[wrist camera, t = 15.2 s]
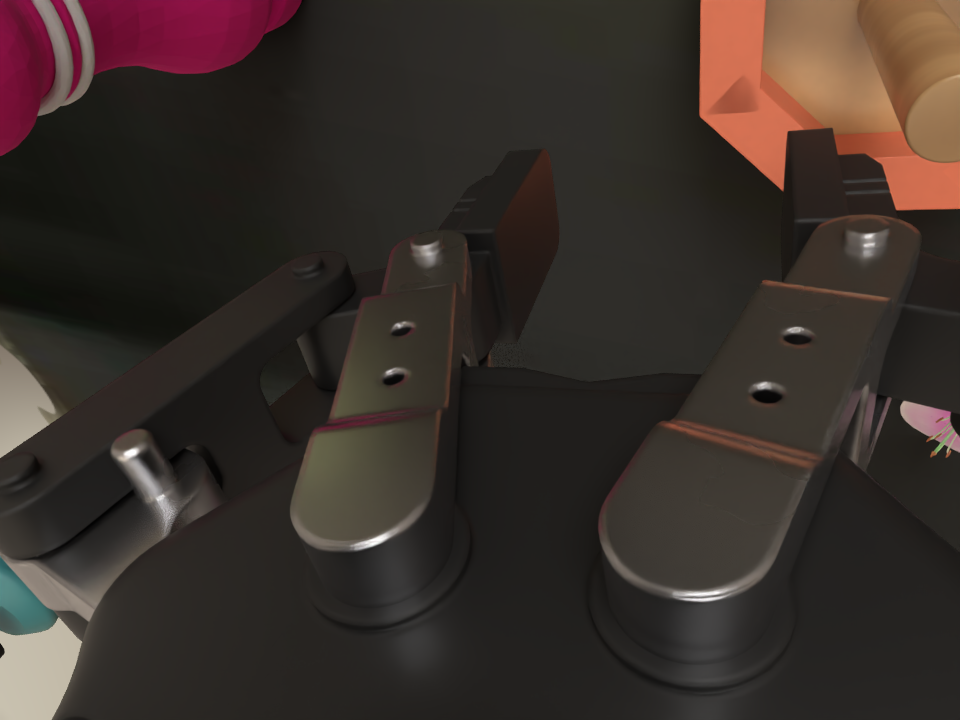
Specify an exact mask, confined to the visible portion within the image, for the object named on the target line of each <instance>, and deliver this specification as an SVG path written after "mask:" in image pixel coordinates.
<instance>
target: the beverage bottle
mask: <svg viewBox="0 0 960 720" xmlns="http://www.w3.org/2000/svg"><path fill="white" fill-rule="evenodd" d="M58 617H59V616H58V615H57V614H56V613H55V612H54V611H53V610H52V609H49V608H47V607H46V606H45V605H43V604H42V602H41V601H40V600H39V599H38V598H37V597H36V596H35V595H34V594H33V592H32V591H31V590H30V589H29V588H28V587H27V586H26V585H25V584H24V582H23V581H22V580H21V579H20V578H19V577H18V576H17V575H16V574H15V572H14V571H13V570H12V569H11V568H10V567H9V566H8V565H7V564H6V562H5V561H4V560H3V559H2V558H1V556H0V631H3V632H5V633H8V634H12V635H25V634H31V633H37V632H42V631H45V630H48V629H49V628H51V627H52V626H53V625H54V624H55V622H56V621H57V619H58ZM3 654H4V648H3V647H2V645H1V644H0V658H1V657H2V655H3Z"/></svg>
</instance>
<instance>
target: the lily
mask: <svg viewBox="0 0 960 720" xmlns="http://www.w3.org/2000/svg"><path fill="white" fill-rule="evenodd" d="M900 410H901V415H902V417H903V418H904V419H905V421H906V422H907V423H909V424H910V425H911V426H912V427H914V428H915V429H917V430H919V431H920V432H922V433H924V434H926V435H928V436H930V437H929V438H928V439H927V442H928V441H929V440H930V439H935V440H937V441H939V442H941V443H940V444H939V446H938V447H937V448H936V449H935V451H932V454H931V456H930V457H931V458H932V456H933V455H936V454H937V452H938V451H939V450H940V449H941V448H942V447H943V445H946V446H948V449H947V455H946V458H947V457H948V456H949V455H950V453H951V450H950V451H949V449H950V448H952V449H954V450H956V451H958V452H960V437H959V436H958V435H957V433H956V432H955V430H954V429H953V427H952V425H951V422H950V414H951V412H949V411H945V410H940V409H936V408H932V407H928V406H924V405H919V404H915V403H911V402H907V401H903V403H902V405H901V406H900Z"/></svg>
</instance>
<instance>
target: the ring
mask: <svg viewBox="0 0 960 720" xmlns="http://www.w3.org/2000/svg"><path fill="white" fill-rule="evenodd" d="M765 9H766V0H700V106H699V115H700V117H701V118H702V119H703V120H704V121H705V122H706V123H707V124H709V125H710V126H711V127H712V128H713V129H714V130H715V131H716V132H717V133H719V134H720V135H721V136H722V137H723V138H724V139H725V140H726V141H728V142H729V143H730V144H731V145H732V146H733V147H734V148H735V149H736V150H738V151H739V152H740V153H741V154H742V155H743V156H744V157H745V158H746V159H748V160H749V161H750V162H751V163H752V164H753V165H754V166H755V167H757V168H758V169H759V170H760V171H761V172H762V173H763V174H764V175H765V176H767V177H768V178H769V179H770V180H771V181H772V182H773V183H774V184H775V185H777V186H778V187H779V188H780V189H781V190H782V191H783V189H784V173H785V157H786V141H787V132H788V131H794V130H807V129H821V128H825V127H824V126H823V125H822V124H821V123H819V122H818V121H817V120H816V119H815V118H814V117H813V116H812V115H811V114H810V113H809V112H808V111H807V110H805V109H804V108H803V107H802V106H801V105H800V104H799V103H798V102H797V101H796V100H795V99H794V98H793V97H792V96H790V95H789V94H788V93H787V92H786V91H785V90H784V89H783V88H782V87H781V86H780V85H779V84H778V83H776V82H775V81H774V80H773V79H772V78H771V77H770V76H769V75H768V74H767V73H766V72H765V71H764V70H762V61H763V44H764V26H765ZM834 137H835V142H836V147H837V152H838V155H844V154H860V153H865V154H867V155H868V156H870V157H871V158H873V159H874V160H876V161H877V162H879V163H881V164H882V165H883V169H884V172H885V175H886V181H887V182H888V185H889V189H890V193H891V195H892V198H893V202H894V205H895V208H896V210H929V209H960V161H958V162H952V163H938V162H932V161H928V160H926V159H923V158H922V157H920V156H918V155H917V154H916V153H914V152H913V151H912V150H911V148H910V147H909V145H908V144H907V141H906V139H905V136H904V134H903V132H902V131H898V132H880V133H861V134H843V135H834Z"/></svg>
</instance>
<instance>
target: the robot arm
mask: <svg viewBox="0 0 960 720" xmlns="http://www.w3.org/2000/svg"><path fill="white" fill-rule="evenodd" d="M921 240H922V237H921V234H920V232H919V231H918V229H916V228H915V227H914V226H912V225H911V224H909V223H907V222H905V221H902V220H899V218H898V215H897V212H896V208H895V205H894V202H893V198H892V195H891V193H890V189H889V185H888V182H887V181H886V175H885V172H884V169H883V165H882V164H881V163H879V162H877V161H876V160H874V159H873V158H871V157H870V156H868V155H867V154H865V153H860V154H844V155H838V152H837V147H836V142H835V137H834V132H833V128H821V129H807V130H794V131H788V132H787V141H786V157H785V173H784V189H783V206H782V224H781V260H782V282H777V281H770V280H764V281H763V282H761V284H760V285H759V286H758V288H757V289H756V291H755V293H754V294H753V296H752V297H751V299H750V300H749V302H748V304H747V305H746V307H745V308H744V310H743V311H742V313H741V314H740V316H739V318H738V319H737V321H736V322H735V324H734V325H733V327H732V329H731V330H730V332H729V333H728V335H727V336H726V338H725V340H724V341H723V343H722V344H721V346H720V347H719V349H718V350H717V352H716V354H715V355H714V357H713V358H712V360H711V361H710V363H709V365H708V366H707V368H706V369H705V371H704V372H703V374H702V375H700V374H673V373H660V374H652V375H644V376H636V377H628V378H619V379H611V380H603V381H594V382H585V381H580V380H575V379H571V378H566V377H562V376H557V375H553V374H548V373H544V372H539V371H535V370H530V369H526V368H508V367H495V366H494V361H493V357H492V352H491V349H492V346H493V344H494V343H504V344H517V342H518V339H519V337H520V335H521V333H522V330H523V328H524V326H525V323H526V321H527V319H528V317H529V314H530V312H531V310H532V307H533V305H534V303H535V301H536V298H537V296H538V294H539V291H540V289H541V287H542V285H543V282H544V280H545V278H546V275H547V273H548V271H549V269H550V266H551V264H552V262H553V259H554V257H555V255H556V252H557V249H558V244H559V221H558V213H557V206H556V199H555V191H554V184H553V177H552V169H551V163H550V158H549V154H548V152H547V150H546V149H533V150H520V151H510V152H508V153H507V155H506V156H505V158H504V159H503V161H502V162H501V163H500V165H499V166H498V168H497V169H496V171H495V172H494V174H493V175H492V176H485V177H484V178H482V179H481V180H479V181H478V182H476V183H475V184H473V185H472V186H470V187H469V188H468V189H467V190H466V192H465V193H464V194H463V196H462V197H461V199H460V202H458V203H457V204H456V205H455V207H454V208H453V212H450V214H449V215H448V217H447V218H446V219H445V221H444V222H443V223H442V225H441V226H440V228H439V229H438V230H431V231H426V232H422V233H419V234H416V235H413V236H411V237H409V238H407V239H405V240H403V241H401V242H400V243H399V244H397V245H396V246H395V247H394V248H393V249H392V251H391V253H390V256H389V261H388V265H387V268H384V269H379V270H374V271H369V272H364V273H359V274H353V275H352V274H351V271H350V268H349V265H348V262H347V259H346V257H345V256H344V255H343V254H341V253H338V252H333V251H323V252H315V253H311V254H307V255H304V256H301V257H298V258H296V259H293V260H292V261H290V262H288V263H286V264H284V265H283V266H281V267H280V268H278V269H277V270H276V271H274V272H273V273H271V274H270V275H268V276H267V277H265V278H264V279H262V280H261V281H259V282H258V283H256V284H255V285H254V286H252V287H251V288H249V289H248V290H246V291H245V292H243V293H242V294H240V295H239V296H237V297H236V298H234V299H233V300H232V301H230V302H229V303H227V304H226V305H224V306H223V307H221V308H220V309H218V310H217V311H215V312H214V313H212V314H211V315H210V316H208V317H207V318H205V319H204V320H202V321H201V322H199V323H198V324H196V325H195V326H193V327H192V328H190V329H189V330H188V331H186V332H185V333H183V334H182V335H180V336H179V337H177V338H176V339H174V340H173V341H171V342H170V343H169V344H167V345H166V346H164V347H163V348H161V349H160V350H158V351H157V352H155V353H154V354H152V355H151V356H149V357H148V358H147V359H145V360H144V361H142V362H141V363H139V364H138V365H136V366H135V367H133V368H132V369H130V370H129V371H127V372H126V373H125V374H123V375H122V376H120V377H119V378H117V379H116V380H114V381H113V382H111V383H110V384H108V385H107V386H105V387H104V388H103V389H101V390H100V391H98V392H97V393H95V394H94V395H92V396H91V397H89V398H88V399H86V400H85V401H83V402H82V403H81V404H79V405H78V406H76V407H75V408H73V409H72V410H70V411H69V412H67V413H66V414H64V415H63V416H61V417H60V418H59V419H57V420H56V421H54V422H53V423H51V424H50V425H48V426H47V427H46V428H44V429H43V430H41V431H40V432H38V433H37V434H35V435H34V436H33V437H31V438H29V439H28V440H26V441H25V442H23V443H22V444H20V445H19V446H17V447H16V448H15V449H13V450H12V451H10V452H9V453H7V454H6V455H4V456H3V457H1V458H0V556H1V558H2V559H3V560H4V561H5V562H6V564H7V565H8V566H9V567H10V568H11V569H12V570H13V571H14V572H15V574H16V575H17V576H18V577H19V578H20V579H21V580H22V581H23V582H24V584H25V585H26V586H27V587H28V588H29V589H30V590H31V591H32V592H33V594H34V595H35V596H36V597H37V598H38V599H39V600H40V601H41V602H42V604H43V605H45V606H46V607H47V608H49V609H52V610H53V611H54V612H55V613H56V614H57V615H58V616H59V618H60V619H61V620H62V621H63V622H64V623H65V624H66V625H67V626H68V628H69V629H70V630H71V631H72V632H73V633H74V634H75V635H76V637H77V638H79V639H80V640H81V641H82V645H81V648H80V652H79V656H78V660H77V663H76V666H75V669H74V672H73V674H72V677H71V680H70V683H69V685H68V688H67V690H66V692H65V694H64V696H63V699H62V701H61V703H60V705H59V707H58V709H57V711H56V713H55V715H54V717H53V719H52V720H960V552H958V551H957V550H956V549H955V548H954V547H953V546H951V545H950V544H949V543H948V542H947V541H946V540H944V539H943V538H942V537H941V536H940V535H938V534H937V533H936V532H935V531H934V530H933V529H931V528H930V527H929V526H928V525H927V524H926V523H924V522H923V521H922V520H921V519H920V518H919V517H917V516H916V515H915V514H914V513H913V512H911V511H910V510H909V509H908V508H907V507H906V506H904V505H903V504H902V503H901V502H900V501H899V500H897V499H896V498H895V497H894V496H893V495H892V494H890V493H889V492H888V491H887V490H886V489H885V488H883V487H882V486H881V485H880V484H879V483H877V482H876V481H875V480H874V479H873V478H872V477H870V476H869V475H868V474H867V473H866V470H867V467H868V464H869V461H870V458H871V456H872V453H873V450H874V447H875V444H876V441H877V438H878V436H879V433H880V430H881V427H882V424H883V421H884V418H885V416H886V413H887V410H888V407H889V404H890V401H891V398H894V399H899V400H903V401H907V402H911V403H915V404H919V405H924V406H928V407H932V408H936V409H940V410H945V411H949V412H951V414H950V422H951V425H952V427H953V429H954V430H955V432H956V433H957V435H958V436H959V437H960V261H956V260H950V259H945V258H941V257H938V256H934V255H931V254H928V253H926V252H924V251H921V250H920V246H921ZM295 340H297V342H298V345H299V347H300V349H301V352H302V354H303V357H304V359H305V362H306V364H307V366H308V369H309V371H310V373H309V374H308V375H306V376H305V377H304V378H303V379H302V380H300V381H299V382H298V383H297V384H296V385H294V386H293V387H292V388H291V389H290V390H288V391H287V392H286V393H285V394H284V395H282V396H281V397H280V398H279V399H278V400H276V401H275V402H274V403H273V404H272V405H271V406H269V405H268V403H267V401H266V399H265V397H264V395H263V393H262V390H261V388H260V375H261V372H262V370H263V368H264V366H265V365H266V363H267V362H268V361H269V360H270V359H272V358H273V357H274V356H276V355H277V354H278V353H279V352H281V351H282V350H283V349H284V348H286V347H287V346H288V345H290V344H291V343H292V342H293V341H295Z"/></svg>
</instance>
